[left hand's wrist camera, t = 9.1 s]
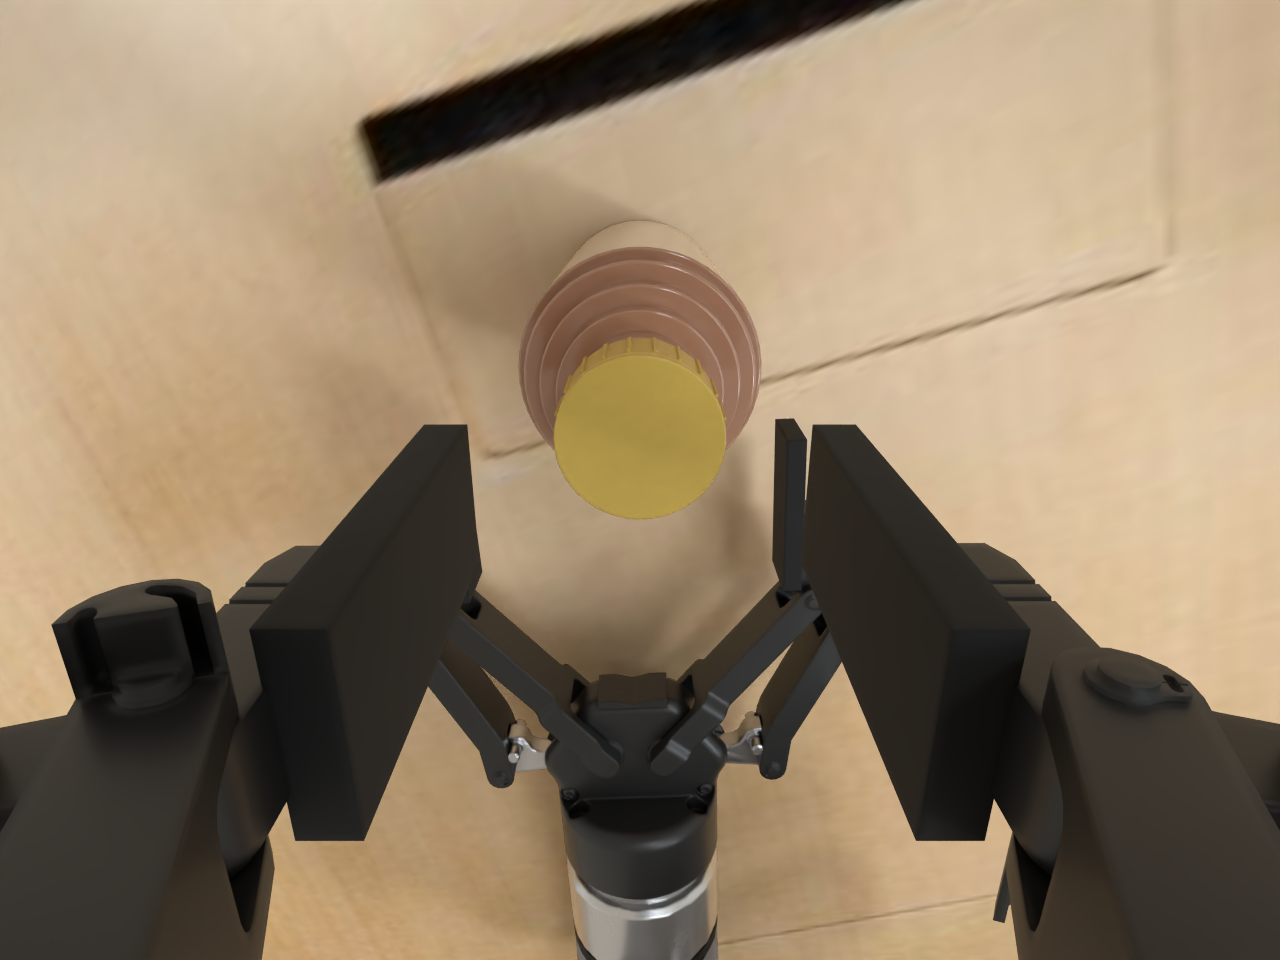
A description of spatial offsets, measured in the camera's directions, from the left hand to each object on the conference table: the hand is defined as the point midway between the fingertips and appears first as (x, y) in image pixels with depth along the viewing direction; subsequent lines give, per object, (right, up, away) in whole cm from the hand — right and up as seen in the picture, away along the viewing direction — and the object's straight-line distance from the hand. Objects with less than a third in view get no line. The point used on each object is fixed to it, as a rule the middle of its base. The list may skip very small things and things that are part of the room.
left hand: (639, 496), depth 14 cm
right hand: (-1, +2, +16) cm, 17 cm away
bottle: (0, +8, +20) cm, 22 cm away
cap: (0, +1, +3) cm, 3 cm away
